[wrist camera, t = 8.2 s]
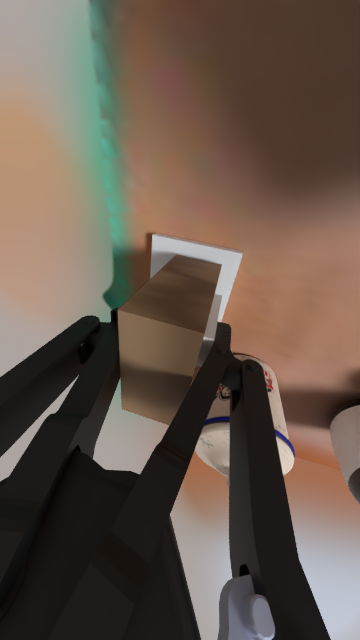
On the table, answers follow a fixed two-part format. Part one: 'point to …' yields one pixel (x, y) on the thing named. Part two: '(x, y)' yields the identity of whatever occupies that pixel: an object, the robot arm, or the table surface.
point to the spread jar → (348, 444)
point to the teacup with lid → (217, 427)
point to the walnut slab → (164, 336)
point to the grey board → (170, 246)
